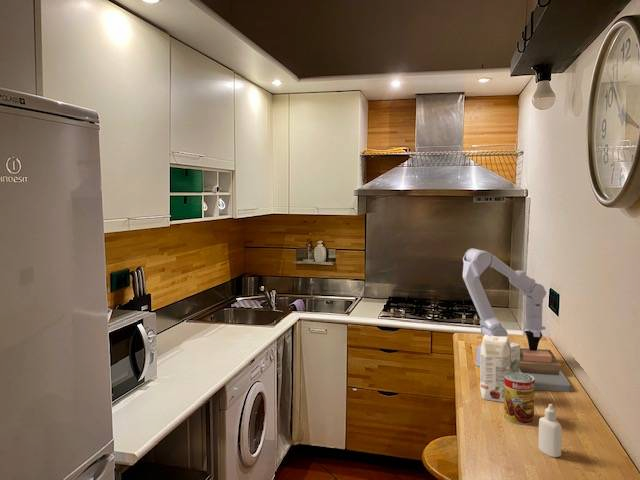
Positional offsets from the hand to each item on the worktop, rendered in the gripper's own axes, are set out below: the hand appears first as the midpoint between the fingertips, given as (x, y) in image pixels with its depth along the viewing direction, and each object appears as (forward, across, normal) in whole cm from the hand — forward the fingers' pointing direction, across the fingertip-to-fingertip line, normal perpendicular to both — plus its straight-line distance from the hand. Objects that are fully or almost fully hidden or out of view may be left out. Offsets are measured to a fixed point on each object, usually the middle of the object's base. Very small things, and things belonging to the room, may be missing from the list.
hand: (533, 350), depth 185 cm
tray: (+5, -19, 0) cm, 20 cm away
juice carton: (+5, -36, +17) cm, 40 cm away
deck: (+5, -3, 0) cm, 6 cm away
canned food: (+5, -50, +12) cm, 51 cm away
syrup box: (+5, -25, +12) cm, 29 cm away
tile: (+1, -6, 0) cm, 6 cm away
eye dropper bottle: (+5, -68, +8) cm, 68 cm away
